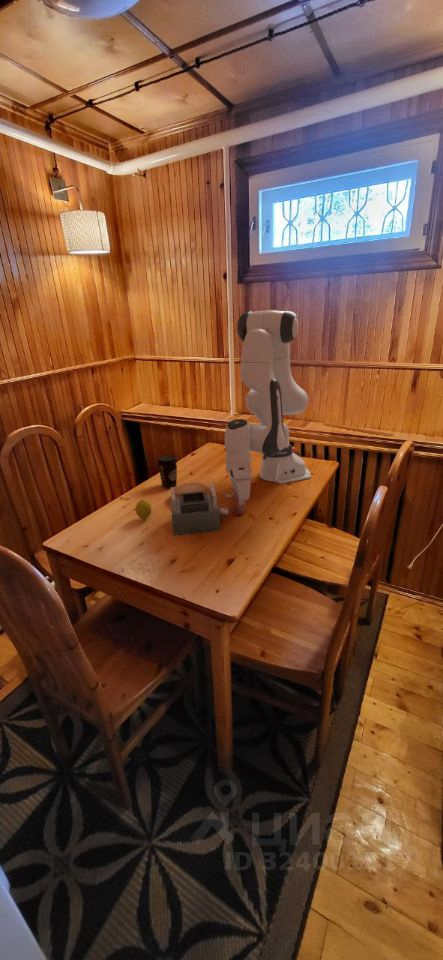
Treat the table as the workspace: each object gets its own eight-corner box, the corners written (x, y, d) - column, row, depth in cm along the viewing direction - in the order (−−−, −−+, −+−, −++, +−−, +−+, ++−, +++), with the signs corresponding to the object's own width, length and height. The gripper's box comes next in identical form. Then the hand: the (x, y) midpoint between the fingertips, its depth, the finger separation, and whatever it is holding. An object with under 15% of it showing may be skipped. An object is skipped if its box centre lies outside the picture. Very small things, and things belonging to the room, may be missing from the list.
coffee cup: (181, 482, 180) (179, 454, 175) (177, 490, 173) (175, 461, 168) (162, 482, 181) (159, 454, 176) (157, 489, 174) (154, 461, 169)
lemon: (155, 516, 152) (152, 497, 149) (147, 523, 147) (145, 503, 144) (141, 514, 154) (139, 495, 150) (134, 521, 149) (131, 502, 146)
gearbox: (226, 513, 152) (224, 481, 147) (231, 529, 141) (230, 495, 136) (172, 518, 150) (169, 486, 145) (173, 535, 139) (170, 501, 134)
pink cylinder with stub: (244, 508, 155) (244, 485, 151) (247, 514, 151) (246, 490, 147) (224, 510, 154) (224, 487, 150) (227, 516, 150) (226, 492, 146)
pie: (163, 500, 164) (162, 489, 162) (191, 488, 174) (191, 477, 172) (190, 512, 154) (189, 500, 152) (218, 497, 165) (217, 486, 163)
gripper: (225, 456, 154) (226, 489, 160) (234, 477, 136) (235, 514, 141) (241, 455, 155) (242, 488, 161) (253, 475, 137) (253, 512, 142)
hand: (239, 500), depth 151 cm, fingers closed on pink cylinder with stub, 5 cm apart
